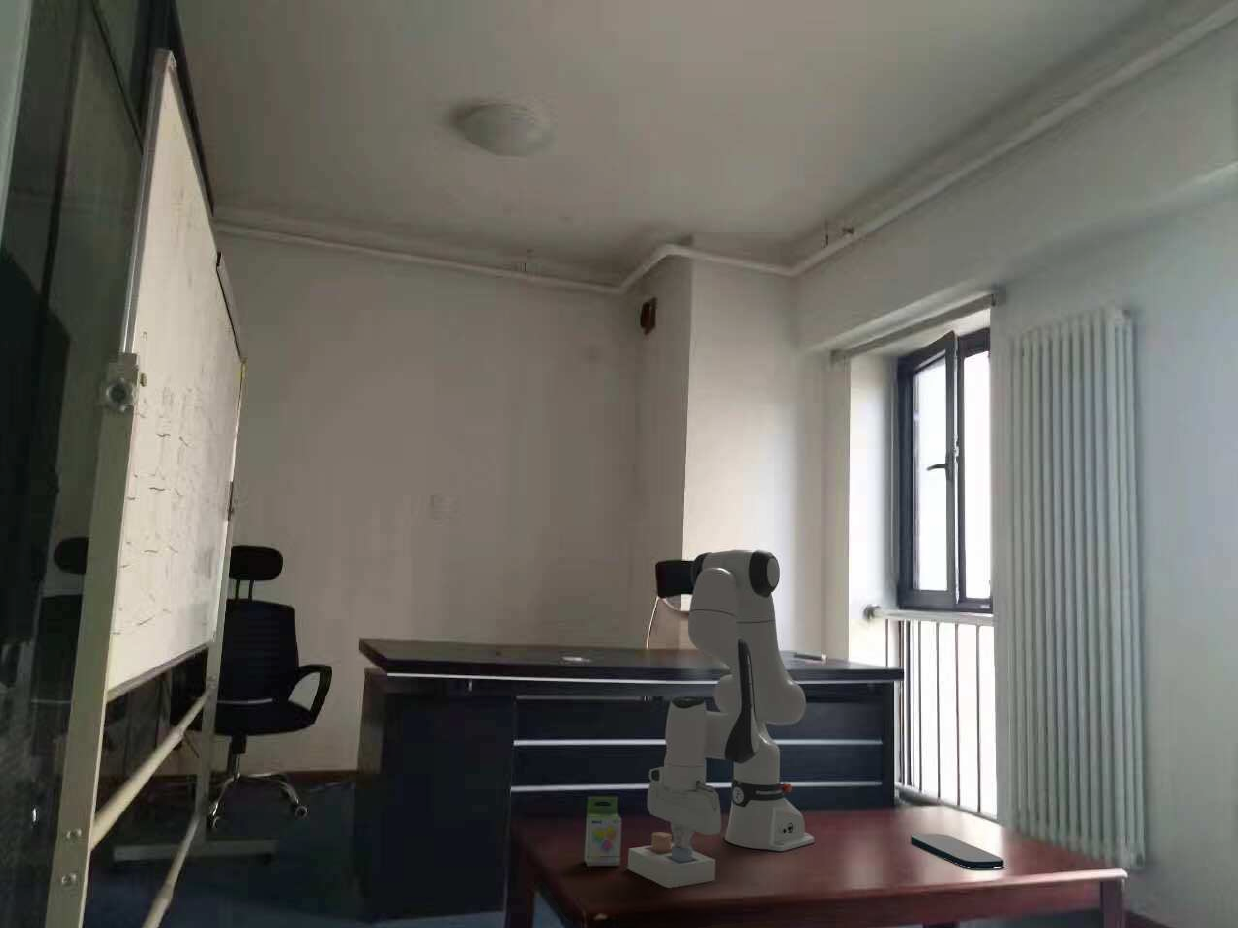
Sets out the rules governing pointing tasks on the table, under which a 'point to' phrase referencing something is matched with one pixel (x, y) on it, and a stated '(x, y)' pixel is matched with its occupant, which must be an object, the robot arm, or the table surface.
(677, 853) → the grey piece
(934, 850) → the external hard drive
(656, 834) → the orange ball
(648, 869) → the white flat block
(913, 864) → the table surface
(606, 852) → the ink box
